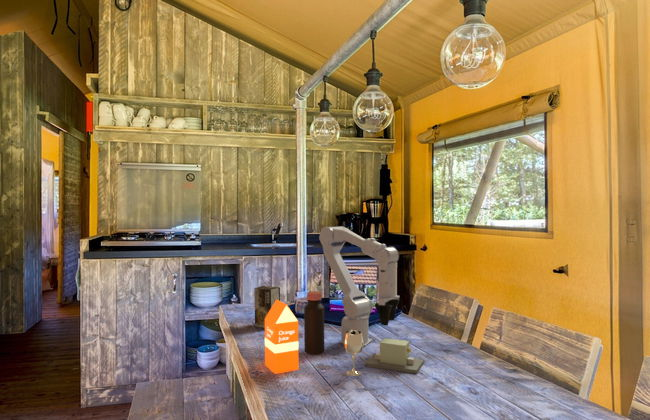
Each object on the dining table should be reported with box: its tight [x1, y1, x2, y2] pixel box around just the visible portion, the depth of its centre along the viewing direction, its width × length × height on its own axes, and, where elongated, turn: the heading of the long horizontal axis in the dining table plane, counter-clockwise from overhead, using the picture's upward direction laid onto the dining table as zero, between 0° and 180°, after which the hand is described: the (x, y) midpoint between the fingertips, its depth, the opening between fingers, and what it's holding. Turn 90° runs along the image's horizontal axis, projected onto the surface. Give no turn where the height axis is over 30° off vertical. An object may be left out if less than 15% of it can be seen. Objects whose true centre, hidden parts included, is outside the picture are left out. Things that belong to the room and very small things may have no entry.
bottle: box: [303, 290, 325, 356], centre depth 149 cm, size 7×7×20 cm
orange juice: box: [264, 299, 299, 375], centre depth 135 cm, size 8×9×20 cm
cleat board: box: [364, 352, 425, 374], centre depth 137 cm, size 16×10×2 cm, turn 66°
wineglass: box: [343, 330, 364, 377], centre depth 129 cm, size 6×6×12 cm
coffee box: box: [253, 285, 281, 329], centre depth 182 cm, size 9×6×16 cm
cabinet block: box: [379, 337, 412, 366], centre depth 136 cm, size 9×5×6 cm, turn 66°
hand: (387, 322), depth 151 cm, fingers open, 7 cm apart
